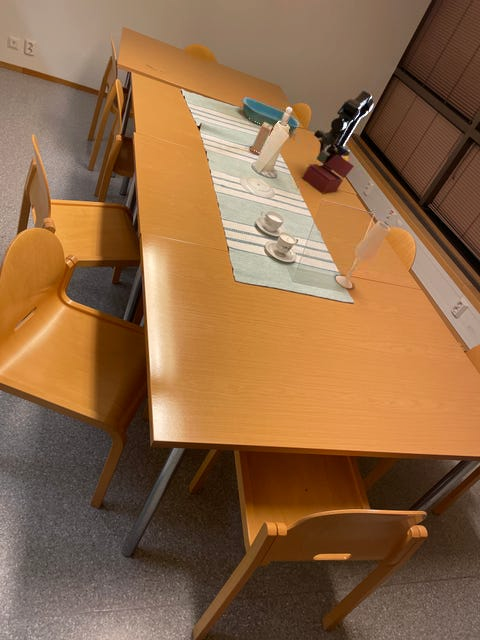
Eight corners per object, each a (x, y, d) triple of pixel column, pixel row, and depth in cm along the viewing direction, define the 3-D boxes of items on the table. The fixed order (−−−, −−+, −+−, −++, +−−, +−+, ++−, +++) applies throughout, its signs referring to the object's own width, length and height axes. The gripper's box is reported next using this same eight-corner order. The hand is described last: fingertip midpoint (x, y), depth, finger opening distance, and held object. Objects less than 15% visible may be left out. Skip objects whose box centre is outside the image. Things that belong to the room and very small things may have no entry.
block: (320, 158, 233) (325, 150, 231) (327, 163, 232) (331, 155, 229) (316, 158, 230) (320, 150, 228) (322, 163, 229) (327, 155, 226)
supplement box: (259, 155, 228) (271, 129, 220) (250, 150, 228) (261, 125, 220) (261, 150, 235) (273, 125, 227) (252, 146, 234) (264, 121, 227)
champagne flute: (349, 290, 163) (389, 234, 149) (333, 279, 165) (372, 222, 151) (354, 284, 169) (394, 229, 155) (339, 273, 170) (377, 217, 156)
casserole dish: (242, 120, 260) (247, 107, 256) (234, 104, 275) (239, 92, 271) (298, 141, 275) (304, 129, 271) (288, 125, 291) (293, 114, 287)
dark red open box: (317, 176, 241) (324, 163, 237) (336, 191, 237) (344, 178, 233) (302, 177, 230) (309, 164, 226) (322, 193, 226) (329, 179, 222)
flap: (324, 163, 237) (324, 164, 237) (343, 178, 233) (344, 178, 233) (334, 151, 236) (334, 152, 236) (353, 165, 231) (354, 166, 232)
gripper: (316, 117, 219) (300, 148, 228) (346, 139, 212) (329, 170, 221) (328, 119, 227) (312, 149, 236) (357, 139, 221) (340, 169, 230)
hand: (322, 159), depth 230 cm, fingers closed on block, 4 cm apart
